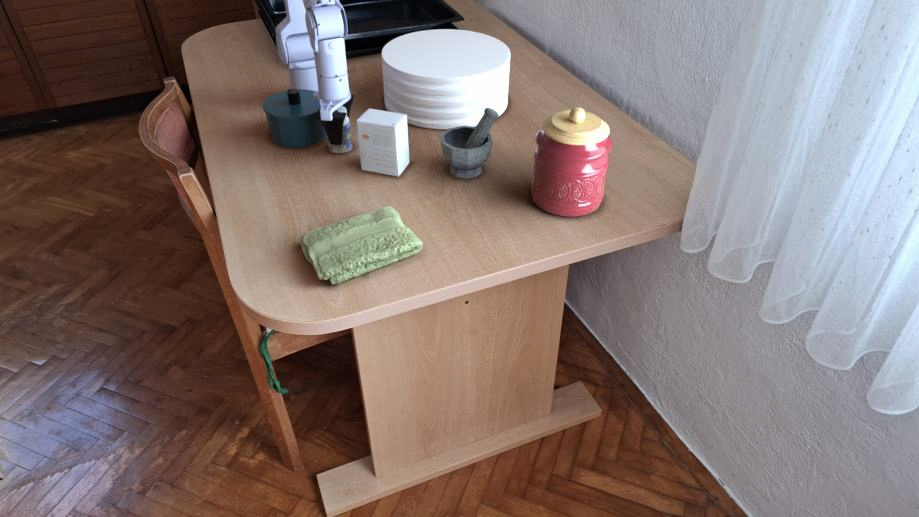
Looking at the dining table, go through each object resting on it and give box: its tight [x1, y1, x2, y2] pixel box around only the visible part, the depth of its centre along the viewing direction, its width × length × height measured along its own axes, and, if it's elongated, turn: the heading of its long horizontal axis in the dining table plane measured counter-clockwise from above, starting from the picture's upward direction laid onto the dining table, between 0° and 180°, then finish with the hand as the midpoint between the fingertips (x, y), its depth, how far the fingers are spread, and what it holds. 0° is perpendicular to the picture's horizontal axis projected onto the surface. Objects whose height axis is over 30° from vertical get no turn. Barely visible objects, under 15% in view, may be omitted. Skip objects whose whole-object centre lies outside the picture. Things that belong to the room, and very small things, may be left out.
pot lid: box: [261, 88, 321, 119], centre depth 132 cm, size 13×13×4 cm
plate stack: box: [381, 28, 512, 130], centre depth 146 cm, size 28×28×12 cm
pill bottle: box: [326, 106, 353, 154], centre depth 129 cm, size 5×5×8 cm
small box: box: [355, 107, 411, 178], centre depth 123 cm, size 8×6×10 cm
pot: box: [265, 113, 327, 149], centre depth 135 cm, size 12×12×6 cm
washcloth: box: [297, 205, 424, 286], centre depth 105 cm, size 13×18×3 cm
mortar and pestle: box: [440, 108, 500, 179], centre depth 122 cm, size 11×9×12 cm
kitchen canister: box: [530, 106, 613, 218], centre depth 113 cm, size 13×13×18 cm
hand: (339, 137), depth 131 cm, fingers closed on pill bottle, 5 cm apart
